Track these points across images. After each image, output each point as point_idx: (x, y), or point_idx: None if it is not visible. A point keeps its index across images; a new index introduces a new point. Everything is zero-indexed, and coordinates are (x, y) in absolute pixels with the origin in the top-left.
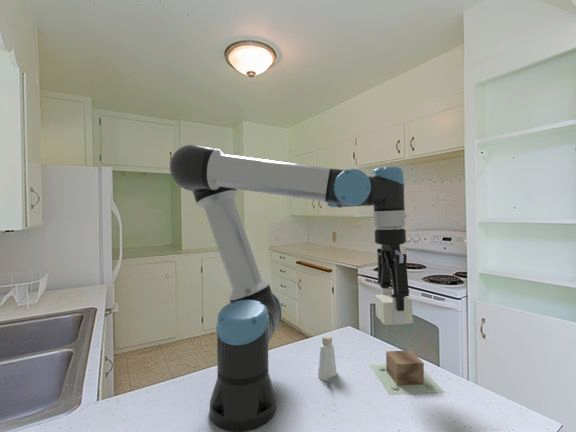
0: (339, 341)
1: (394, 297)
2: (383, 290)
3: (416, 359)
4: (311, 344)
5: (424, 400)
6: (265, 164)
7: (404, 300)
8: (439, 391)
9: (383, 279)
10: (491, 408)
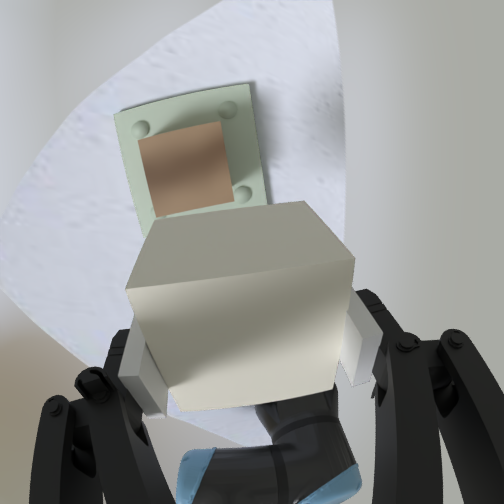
0: (43, 290)
1: (370, 375)
2: (163, 404)
3: (198, 136)
4: (80, 343)
5: (267, 135)
6: None
7: (328, 301)
8: (247, 94)
9: (161, 473)
10: (283, 16)
